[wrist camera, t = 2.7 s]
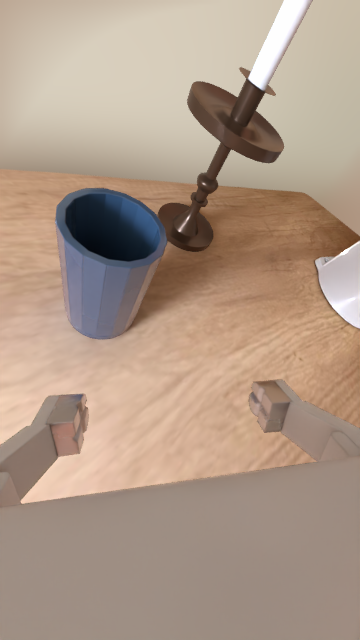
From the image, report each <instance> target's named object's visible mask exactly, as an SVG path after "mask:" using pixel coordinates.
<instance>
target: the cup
mask: <svg viewBox="0 0 360 640" xmlns="http://www.w3.org/2000/svg"><path fill="white" fill-rule="evenodd" d="M55 224H56V232H57V241H58V250H59V258H60V267H61V275H62V284H63V292H64V301H65V309H66V312H67V317H68V320H69V321H70V323H71V325H72V326H73V327H74V328H75V329H76V330H77V331H78V332H80V333H81V334H83V335H85V336H87V337H90V338H94V339H110V338H114V337H117V336H119V335H121V334H123V333H124V332H125V331H126V330H127V329H128V328H129V327H130V326H131V324H132V322H133V320H134V318H135V316H136V314H137V311H138V309H139V307H140V305H141V302H142V300H143V298H144V296H145V293H146V291H147V289H148V287H149V284H150V282H151V280H152V278H153V276H154V273H155V271H156V269H157V267H158V264H159V262H160V260H161V258H162V255H163V253H164V250H165V247H166V245H167V237H166V232H165V228H164V226H163V224H162V223H161V221H160V220H159V218H158V217H157V215H156V214H155V213H154V212H153V211H152V210H151V209H149V208H148V207H147V206H146V205H145V204H143V203H142V202H141V201H139V200H137V199H135V198H133V197H131V196H129V195H127V194H125V193H121V192H117V191H113V190H109V189H104V188H85V189H81V190H78V191H75V192H73V193H70V194H68V195H67V196H66V197H65V198H64V199H63V200H62V201H61V202H60V203H59V204H58V205H57V209H56V219H55Z"/></svg>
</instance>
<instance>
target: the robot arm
mask: <svg viewBox="0 0 360 640" xmlns="http://www.w3.org/2000/svg"><path fill="white" fill-rule="evenodd" d="M315 263H316V266H317V269H318V272H319V283H320V286H321V289H322V291H323V293H324V295H325V297H326V298H327V300H328V301H329V303H330V304H331V306H332V307H333V308H334V309H335V310H336V312H337V313H338V314H339V315H340V316H341V317H342V318H344V319H345V320H346V321H347V322H349V323H350V324H351V325H353V326H355V327H357V328H359V329H360V241H359V242H357V243H356V244H354V245H353V246H351V247H350V248H348V249H347V250H345V251H344V252H342V253H341V254H339V255H338V256H336V257H320V258H318V259H316V260H315ZM251 389H252V390H253V392H252V393H251V394H250V395H249V406H250V409H251V411H252V413H253V414H254V415H255V416H257V417H258V420H257V422H258V423H259V425H260V427H261V428H262V430H263V432H264V433H267V432H279V431H281V433H282V434H283V435H285V436H286V437H287V438H288V439H290V440H291V441H292V442H294V443H295V444H296V445H297V446H299V447H300V448H301V449H302V450H304V451H305V452H306V453H307V454H309V455H310V456H311V457H313V458H314V459H315V460H316V461H318V462H312V463H305V464H298V465H291V466H284V467H277V468H270V469H263V470H256V471H249V472H242V473H235V474H228V475H221V476H214V477H207V478H200V479H193V480H186V481H179V482H172V483H165V484H158V485H151V486H144V487H137V488H130V489H123V490H116V491H109V492H102V493H95V494H88V495H81V496H74V497H67V498H60V499H53V500H47V501H40V502H33V503H26V504H21V502H20V501H21V499H22V498H23V497H24V496H25V495H26V494H27V493H28V491H29V490H30V489H31V488H32V487H33V486H34V485H35V483H36V482H37V481H38V480H39V479H40V478H41V477H42V476H43V474H44V473H45V472H46V471H47V470H48V469H49V468H50V466H51V465H52V464H53V463H54V462H55V461H56V460H57V458H58V457H60V456H67V455H74V454H80V451H81V448H82V444H83V441H84V437H83V433H84V432H85V431H86V430H87V426H88V418H89V414H88V408H87V407H86V406H85V404H86V401H87V400H86V395H85V394H69V395H53V396H48V397H47V398H46V399H45V401H44V403H43V404H42V406H41V408H40V410H39V411H38V413H37V415H36V417H35V418H34V420H33V422H32V424H31V426H26V427H25V428H23V429H22V430H21V431H19V432H18V433H16V434H15V435H14V436H12V437H11V438H10V439H8V440H7V441H5V442H4V443H3V444H1V445H0V640H360V428H358V427H356V426H354V425H352V424H350V423H348V422H346V421H344V420H342V419H340V418H338V417H336V416H334V415H332V414H330V413H328V412H326V411H324V410H322V409H320V408H318V407H316V406H314V405H312V404H311V403H309V402H307V401H302V400H301V399H300V398H299V397H298V396H297V395H296V393H295V392H294V391H293V390H292V389H291V388H290V387H289V386H288V385H287V384H286V383H285V382H284V381H283V380H281V379H277V380H268V381H255V382H253V383H252V386H251Z"/></svg>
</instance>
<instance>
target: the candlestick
mask: <svg viewBox="0 0 360 640" xmlns="http://www.w3.org/2000/svg"><path fill="white" fill-rule="evenodd" d="M312 1H313V0H284V2H283V4H282V6H281V9H280V11H279V13H278V15H277V17H276V19H275V21H274V24H273V26H272V28H271V30H270V32H269V34H268V37H267V38H266V41H265V43H264V45H263V47H262V50H261V52H260V53H259V56H258V58H257V60H256V62H255V64H254V66H253V69H252V71H251V72H250V71H248V70H246V69H244V68H240V71H241V72H242V74H243V75H244V76H245V77H246V81H245V83H244V85H243V87H242V90H241V92H240V94H239V96H238V97H236V96H234V95H233V94H231V93H229V92H227V91H226V90H224V89H221V88H220V87H217V86H215V85H212V84H210V83H205V82H194V83H193V84H192V87H191V89H190V93H189V96H188V99H187V103H188V107H189V109H190V111H191V112H192V114H193V116H194V117H195V118H196V119H197V120H198V122H199V123H200V124H201V125H202V126H203V127H204V128H205V129H206V130H207V131H208V132H210V133H211V134H212V135H213V136H214V137H216V138H217V139H218V140H219V141H220V142H221V143H220V145H219V147H218V150H217V152H216V154H215V156H214V158H213V160H212V162H211V164H210V166H209V168H208V170H207V173H201V174H199V176H198V178H197V185H198V190H197V192H193V193H192V195H191V200H192V204H191V206H190V207H189V206H187V205H184V204H180V203H168V204H165V205H163V206H162V207H161V208H160V210H159V212H158V215H157V217H158V218H159V220H160V221H161V223H162V224H163V226H164V228H165V232H166V237H167V240H168V241H169V242H171V243H172V244H174V245H175V246H177V247H179V248H181V249H184V250H187V251H193V252H196V251H202V250H204V249H206V248H207V247H208V246H209V244H210V243H211V241H212V239H213V230H212V227H211V225H210V224H209V222H208V221H207V219H206V218H205V217H204V216H203V215H202V214H200V213H199V210H200V208H201V207H205V206H206V205H207V203H208V201H207V199H206V198H207V196H208V194H211V193H213V192H214V191H215V190H216V189H217V188H218V182H217V180H216V177H217V175H218V173H219V171H220V169H221V167H222V165H223V164H224V162H225V160H226V158H227V156H228V154H229V152H230V150H231V149H232V150H234V151H236V152H238V153H240V154H242V155H244V156H245V157H248V158H250V159H253V160H255V161H259V162H263V163H272V162H274V161H275V160H276V159H277V158H278V156H279V155H280V154H281V152H282V151H283V149H284V144H283V141H282V139H281V137H280V136H279V134H278V133H277V131H276V130H275V129H274V128H273V126H272V125H271V124H270V123H268V121H267V120H266V119H265V118H263V116H261V115H260V114H259V113H258V112H256V109H257V107H258V104H259V103H260V101H261V99H262V97H263V96H264V94H265V93H268V94H270V95H273V96H275V95H276V94H275V92H274V91H273V90H272V89H271V87H270V86H269V85H268V84H269V82H270V80H271V78H272V76H273V74H274V72H275V71H276V69H277V67H278V65H279V63H280V61H281V59H282V57H283V56H284V54H285V52H286V50H287V48H288V46H289V44H290V42H291V40H292V38H293V36H294V35H295V33H296V31H297V29H298V27H299V25H300V23H301V22H302V20H303V18H304V16H305V14H306V12H307V10H308V8H309V7H310V5H311V3H312Z"/></svg>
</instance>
